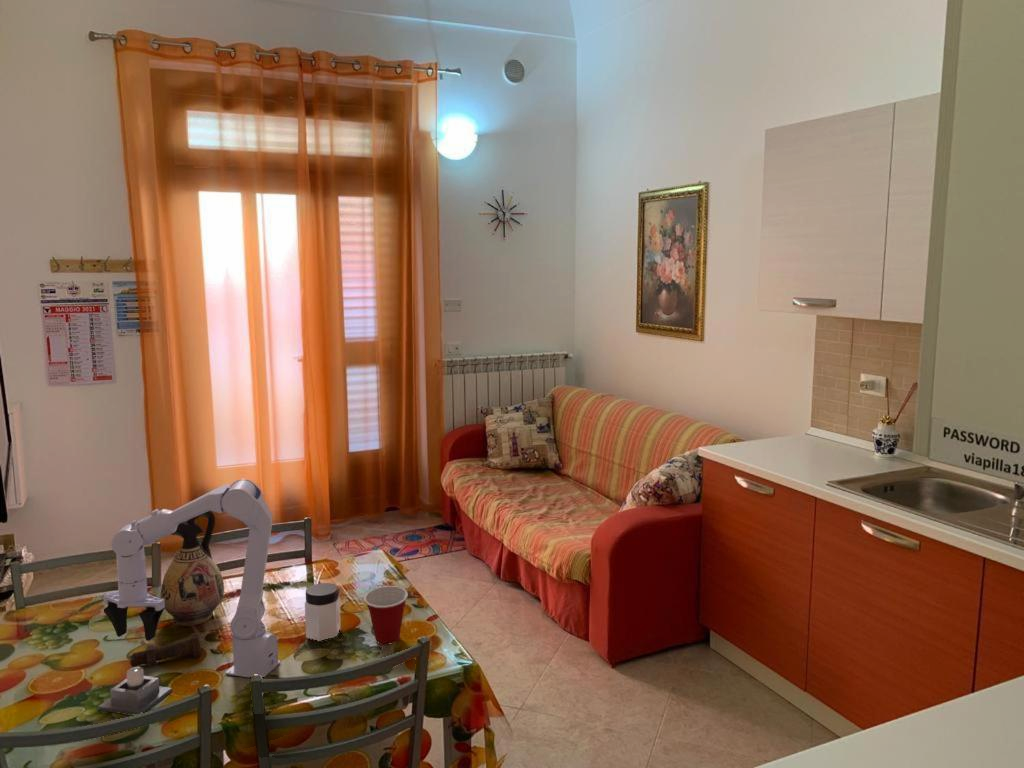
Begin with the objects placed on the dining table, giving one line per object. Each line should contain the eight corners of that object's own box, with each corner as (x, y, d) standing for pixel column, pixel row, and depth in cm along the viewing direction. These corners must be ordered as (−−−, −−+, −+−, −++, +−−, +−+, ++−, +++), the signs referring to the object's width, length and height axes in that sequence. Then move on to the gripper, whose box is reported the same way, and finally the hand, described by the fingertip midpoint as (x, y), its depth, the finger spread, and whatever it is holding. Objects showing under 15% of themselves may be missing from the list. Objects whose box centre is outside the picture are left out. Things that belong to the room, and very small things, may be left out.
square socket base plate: (171, 691, 165) (170, 675, 164) (138, 716, 155) (137, 699, 155) (133, 685, 167) (132, 669, 167) (98, 709, 158) (97, 692, 157)
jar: (336, 642, 188) (334, 596, 186) (303, 642, 187) (301, 596, 186) (343, 625, 197) (341, 581, 195) (311, 626, 196) (310, 582, 195)
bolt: (131, 674, 176) (200, 657, 182) (130, 672, 172) (201, 656, 178) (129, 648, 178) (197, 633, 184) (128, 646, 173) (198, 631, 180)
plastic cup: (356, 646, 186) (355, 599, 184) (378, 627, 196) (377, 583, 194) (395, 653, 182) (394, 606, 180) (416, 634, 192) (415, 589, 190)
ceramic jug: (173, 638, 190) (166, 523, 186) (155, 617, 201) (148, 509, 197) (240, 618, 201) (235, 509, 197) (219, 600, 212) (213, 497, 208)
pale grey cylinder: (148, 694, 162) (146, 668, 161) (134, 702, 159) (133, 675, 158) (138, 691, 163) (136, 665, 163) (124, 698, 160) (122, 672, 160)
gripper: (90, 582, 165) (95, 640, 167) (147, 589, 162) (151, 648, 163) (115, 570, 172) (119, 627, 174) (169, 576, 168) (173, 634, 170)
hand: (136, 636), depth 169 cm, fingers open, 7 cm apart
